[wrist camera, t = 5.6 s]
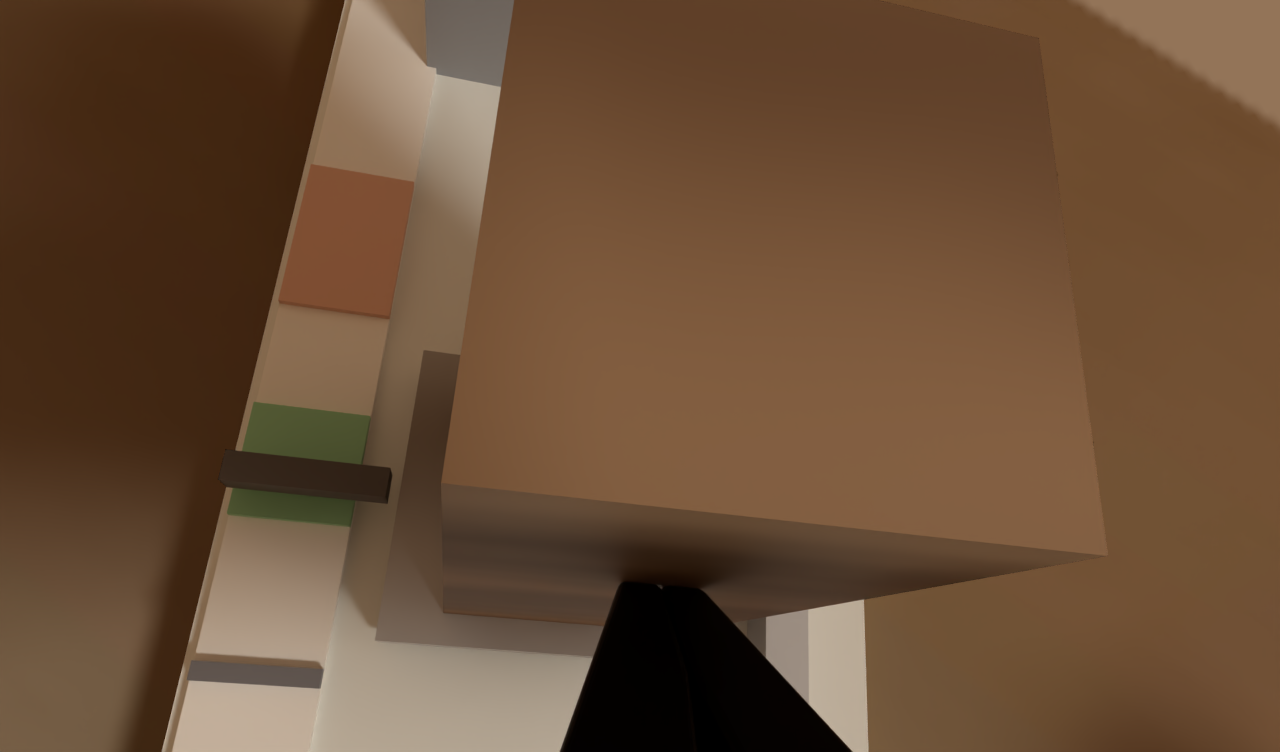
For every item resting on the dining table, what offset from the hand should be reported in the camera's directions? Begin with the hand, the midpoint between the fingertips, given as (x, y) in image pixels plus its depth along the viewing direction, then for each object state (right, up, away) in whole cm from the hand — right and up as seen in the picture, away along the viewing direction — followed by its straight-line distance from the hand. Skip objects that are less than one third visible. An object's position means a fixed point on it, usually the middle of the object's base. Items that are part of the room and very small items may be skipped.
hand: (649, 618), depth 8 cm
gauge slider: (-3, 0, +7) cm, 7 cm away
